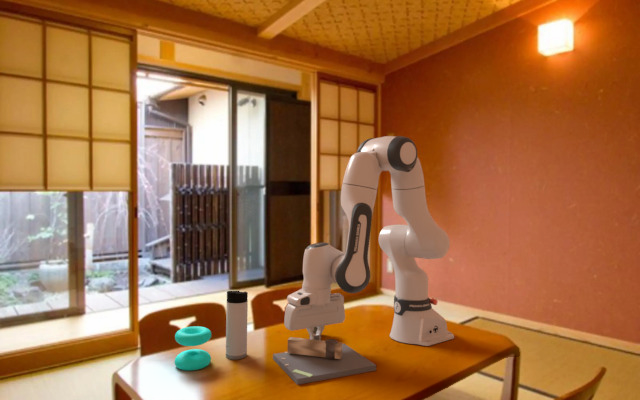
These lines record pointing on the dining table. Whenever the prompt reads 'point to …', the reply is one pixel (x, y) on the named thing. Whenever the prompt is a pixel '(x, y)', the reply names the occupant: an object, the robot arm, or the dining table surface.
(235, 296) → the travel mug
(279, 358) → the dial board
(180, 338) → the donuts
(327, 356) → the long tan beam
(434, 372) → the dining table surface
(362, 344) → the dining table surface
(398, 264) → the robot arm
